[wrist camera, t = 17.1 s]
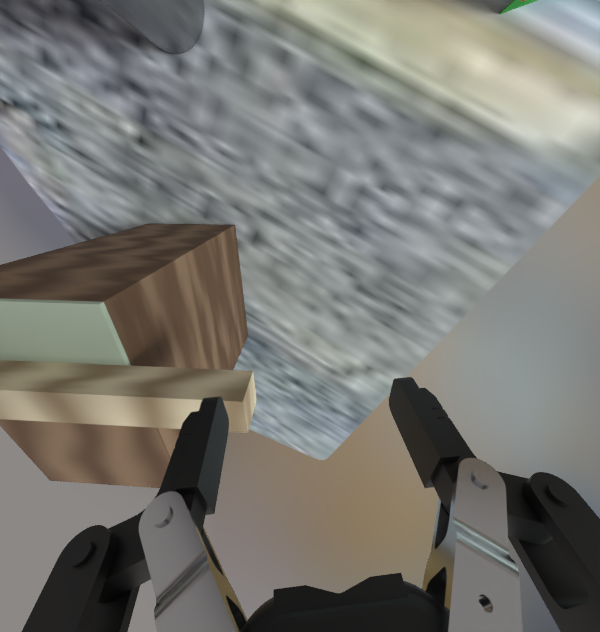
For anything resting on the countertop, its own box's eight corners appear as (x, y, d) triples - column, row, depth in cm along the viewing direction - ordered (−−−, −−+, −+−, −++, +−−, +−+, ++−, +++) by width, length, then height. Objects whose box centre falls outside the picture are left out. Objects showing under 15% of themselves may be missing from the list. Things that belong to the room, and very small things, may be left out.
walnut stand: (234, 224, 45) (99, 304, 17) (248, 335, 56) (181, 489, 29) (149, 223, 45) (-116, 297, 18) (179, 332, 57) (50, 480, 29)
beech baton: (253, 370, 19) (242, 401, 16) (256, 400, 20) (247, 432, 18) (-61, 357, 20) (-117, 384, 18) (-35, 386, 22) (-83, 414, 19)
